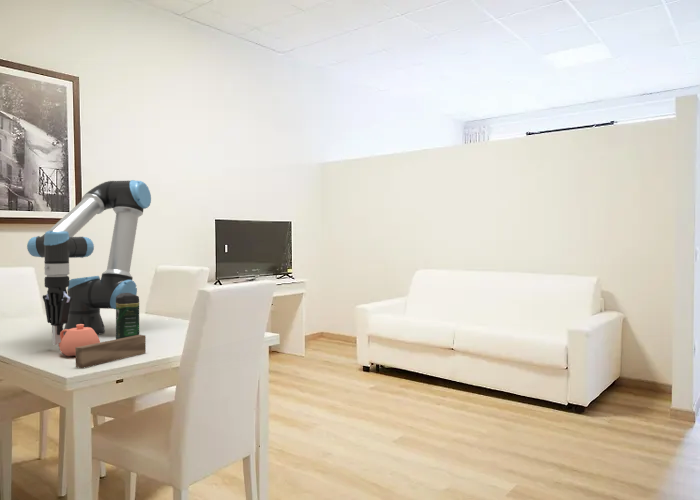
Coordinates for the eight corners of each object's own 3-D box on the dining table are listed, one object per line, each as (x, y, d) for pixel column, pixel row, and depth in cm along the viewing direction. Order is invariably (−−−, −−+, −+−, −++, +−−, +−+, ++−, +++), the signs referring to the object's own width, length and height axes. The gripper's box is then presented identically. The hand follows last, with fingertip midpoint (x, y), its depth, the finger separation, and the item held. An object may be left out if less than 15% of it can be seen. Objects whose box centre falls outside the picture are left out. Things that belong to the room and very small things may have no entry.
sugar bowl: (84, 359, 174) (84, 328, 174) (46, 357, 177) (46, 326, 176) (108, 351, 186) (107, 322, 186) (71, 349, 189) (71, 320, 189)
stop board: (75, 367, 164) (75, 347, 164) (139, 352, 185) (139, 334, 185) (82, 368, 162) (82, 348, 162) (145, 352, 184) (145, 335, 184)
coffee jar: (141, 343, 200) (141, 293, 200) (118, 345, 196) (118, 294, 195) (136, 339, 208) (135, 291, 208) (114, 341, 204) (113, 292, 203)
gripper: (34, 275, 185) (35, 344, 186) (58, 277, 179) (59, 347, 180) (55, 274, 192) (56, 340, 193) (79, 275, 186) (79, 343, 186)
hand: (57, 343), depth 186 cm, fingers closed
